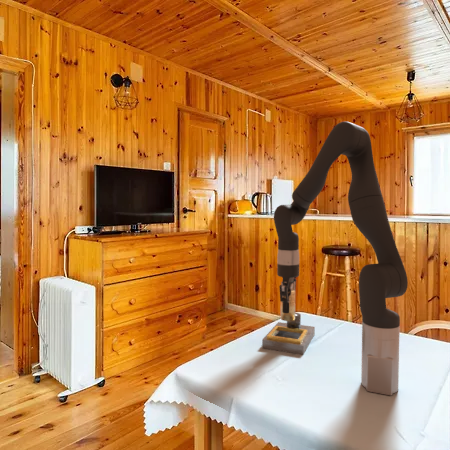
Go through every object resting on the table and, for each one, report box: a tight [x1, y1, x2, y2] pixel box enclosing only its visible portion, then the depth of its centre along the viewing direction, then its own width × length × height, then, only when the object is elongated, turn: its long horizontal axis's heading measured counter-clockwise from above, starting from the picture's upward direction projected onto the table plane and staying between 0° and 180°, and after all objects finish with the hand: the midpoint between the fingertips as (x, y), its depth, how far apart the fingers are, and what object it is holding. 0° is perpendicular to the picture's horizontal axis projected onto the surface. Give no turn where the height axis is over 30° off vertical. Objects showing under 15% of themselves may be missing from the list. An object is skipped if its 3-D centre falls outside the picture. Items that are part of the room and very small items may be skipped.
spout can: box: [280, 289, 296, 322], centre depth 128 cm, size 5×5×12 cm
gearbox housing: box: [261, 312, 316, 355], centre depth 131 cm, size 20×14×8 cm
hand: (287, 310), depth 128 cm, fingers closed on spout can, 5 cm apart
